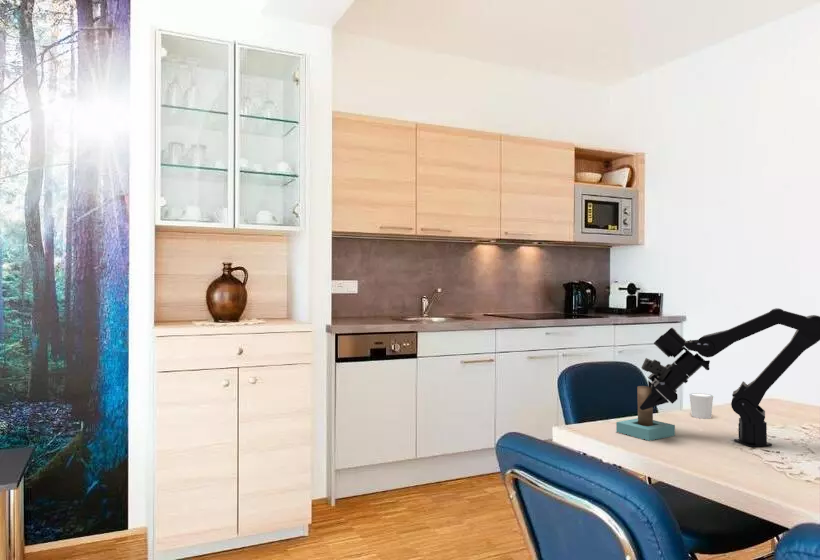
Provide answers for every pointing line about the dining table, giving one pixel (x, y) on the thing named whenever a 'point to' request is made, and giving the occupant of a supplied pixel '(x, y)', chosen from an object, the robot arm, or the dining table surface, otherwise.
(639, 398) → the walnut pin
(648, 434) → the socket block
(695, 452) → the dining table surface
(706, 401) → the white cup
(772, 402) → the dining table surface
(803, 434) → the dining table surface
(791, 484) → the dining table surface
